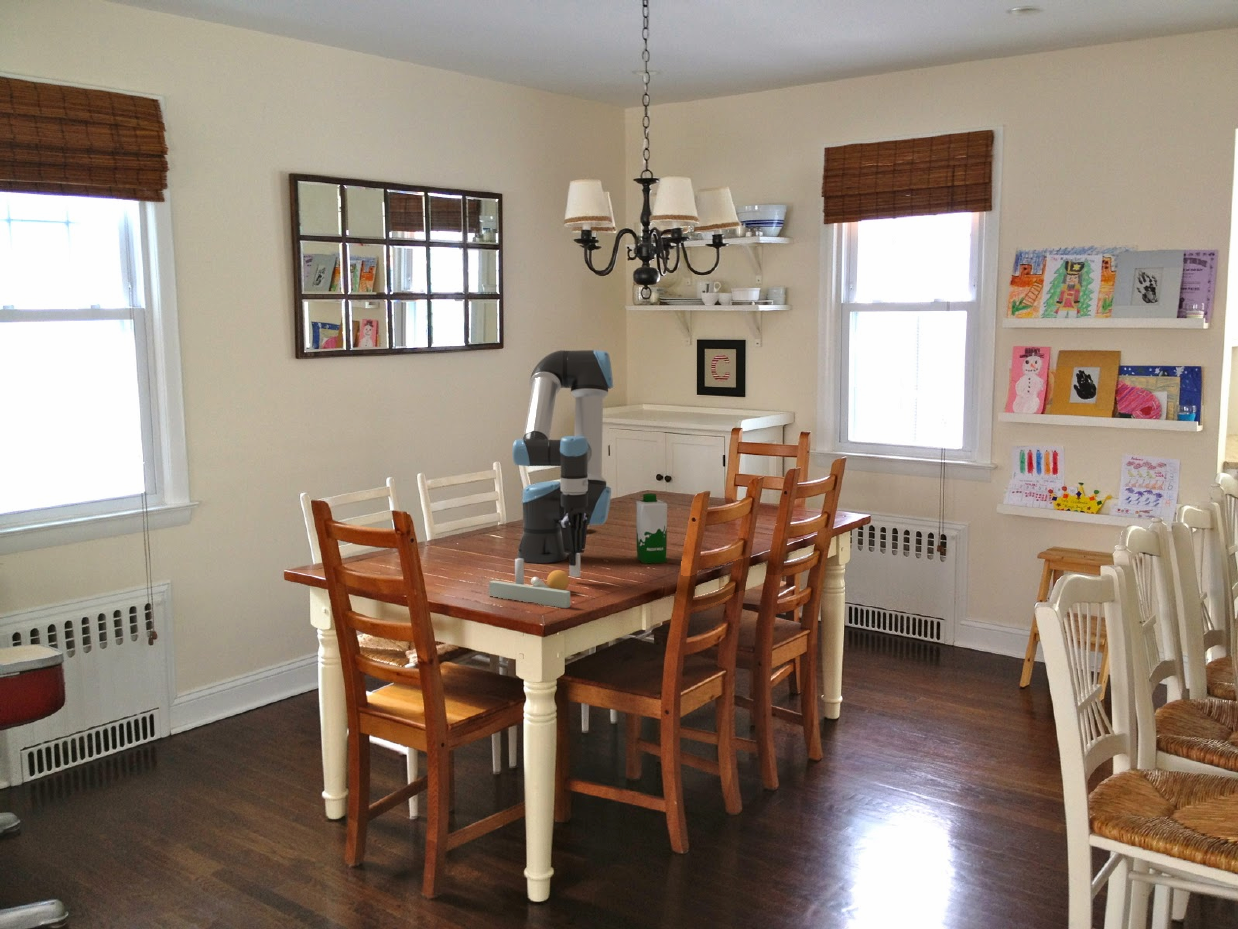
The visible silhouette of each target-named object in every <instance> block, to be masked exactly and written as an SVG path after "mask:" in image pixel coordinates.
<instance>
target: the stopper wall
mask: <svg viewBox="0 0 1238 929" xmlns="http://www.w3.org/2000/svg"><path fill="white" fill-rule="evenodd" d="M488 596H493V597H492V598H494V597H498V598H497V599H501V598H503V600H508V599H514V600H519V601H518V602H521V601H523V603H528V602H534V603H538V604H537V605H541V604H542V606H543V605H544V606H548V607H549V606H550V607H554V606H555V608H562V609H568V608H570V607H571V590H566V589H565V590H558V589H551V588H544V587H537V586H533V585H530V584H529V585H528V584H524V585H522V584H515V582H507V581H500V580H490V581H488ZM514 600H513V601H514ZM534 603H533V604H534Z"/></svg>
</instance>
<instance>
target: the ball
mask: <svg viewBox="0 0 1238 929" xmlns="http://www.w3.org/2000/svg"><path fill="white" fill-rule="evenodd" d="M569 577H570V576H569V574H567V572H565V571H563V570H560V569H556V570H552V571H551V572H550V573H549V574H548V575H547V577H546V578H547V579H546V585H548V586H549V587H550V588H551V589H558V590H565V591H566V590H567V589H568V587H569V584H570V578H569Z"/></svg>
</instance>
